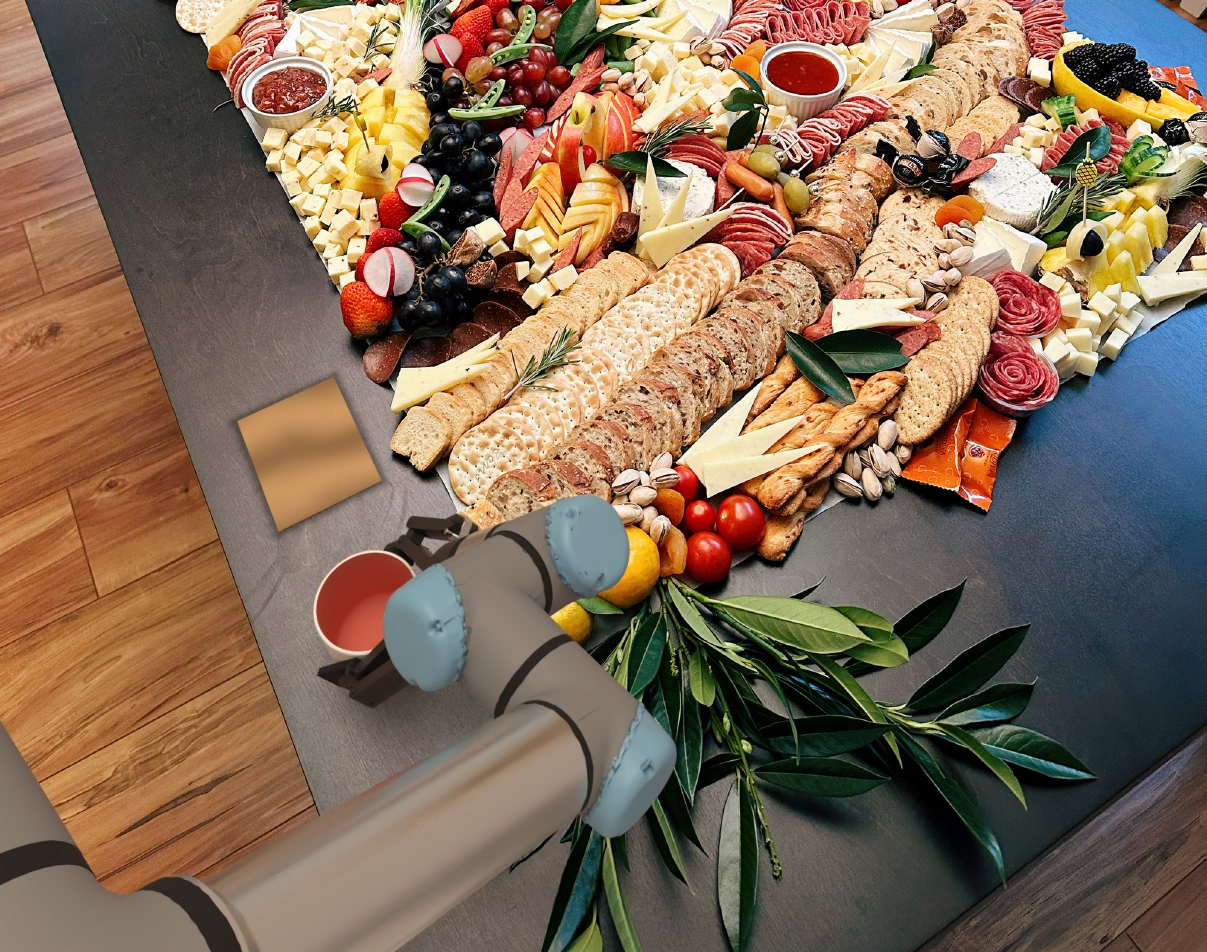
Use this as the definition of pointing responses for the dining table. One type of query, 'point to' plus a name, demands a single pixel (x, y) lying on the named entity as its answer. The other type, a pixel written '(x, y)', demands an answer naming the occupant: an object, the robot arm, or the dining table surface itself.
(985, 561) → the dining table surface
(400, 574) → the cup
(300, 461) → the cork mat
